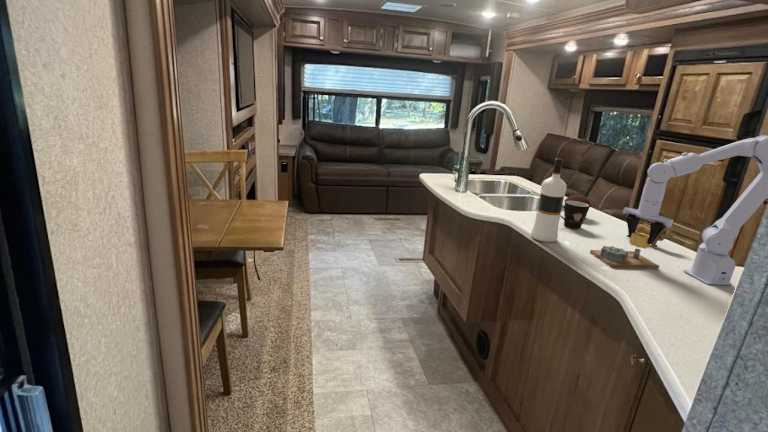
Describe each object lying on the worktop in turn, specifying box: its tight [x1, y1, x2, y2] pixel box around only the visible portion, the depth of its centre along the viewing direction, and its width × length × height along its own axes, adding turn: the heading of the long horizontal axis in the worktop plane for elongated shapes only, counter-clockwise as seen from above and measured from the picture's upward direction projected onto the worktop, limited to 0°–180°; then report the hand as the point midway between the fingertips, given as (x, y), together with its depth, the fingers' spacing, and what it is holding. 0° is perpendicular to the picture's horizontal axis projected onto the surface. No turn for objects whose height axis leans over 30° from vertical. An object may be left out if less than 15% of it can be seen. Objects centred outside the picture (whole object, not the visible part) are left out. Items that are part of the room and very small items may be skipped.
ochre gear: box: [628, 232, 651, 250], centre depth 132 cm, size 6×6×4 cm
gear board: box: [589, 245, 660, 270], centre depth 133 cm, size 12×16×4 cm
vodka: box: [530, 157, 567, 244], centre depth 146 cm, size 9×9×30 cm
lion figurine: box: [625, 223, 674, 249], centre depth 152 cm, size 15×5×9 cm, turn 36°
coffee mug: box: [560, 201, 589, 230], centre depth 167 cm, size 12×9×10 cm
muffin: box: [563, 193, 592, 220], centre depth 182 cm, size 12×11×10 cm
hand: (640, 240), depth 132 cm, fingers closed on ochre gear, 6 cm apart
